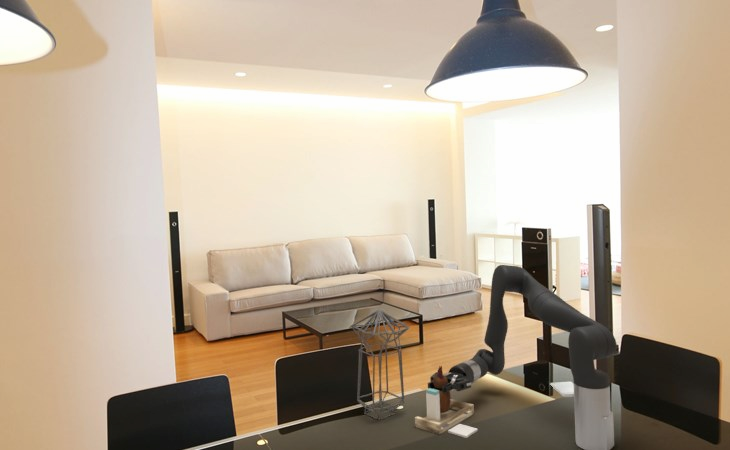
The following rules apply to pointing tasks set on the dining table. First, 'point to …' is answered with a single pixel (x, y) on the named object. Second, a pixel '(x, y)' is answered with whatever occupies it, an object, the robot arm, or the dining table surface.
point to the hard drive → (564, 388)
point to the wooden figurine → (438, 383)
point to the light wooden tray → (446, 417)
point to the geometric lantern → (380, 358)
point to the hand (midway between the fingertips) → (436, 388)
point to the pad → (462, 430)
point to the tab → (433, 404)
